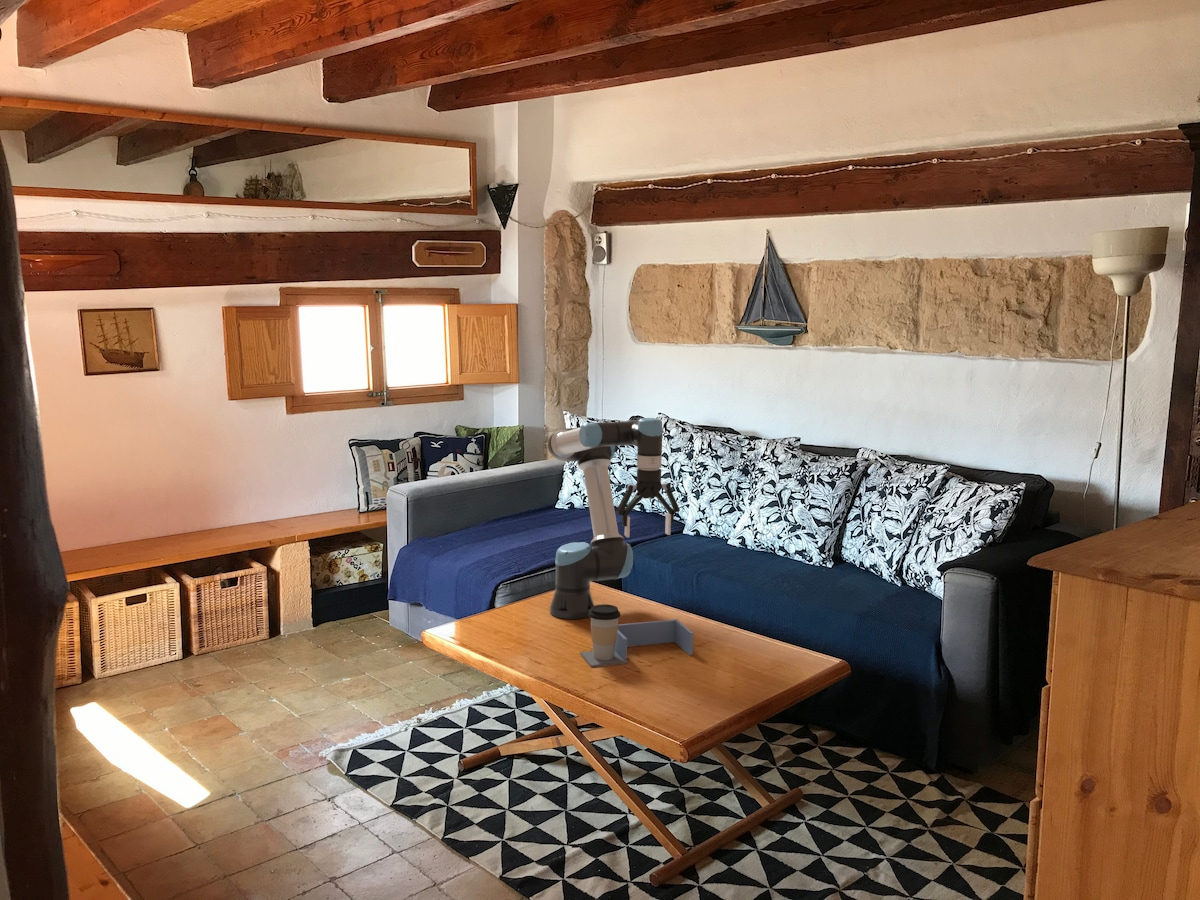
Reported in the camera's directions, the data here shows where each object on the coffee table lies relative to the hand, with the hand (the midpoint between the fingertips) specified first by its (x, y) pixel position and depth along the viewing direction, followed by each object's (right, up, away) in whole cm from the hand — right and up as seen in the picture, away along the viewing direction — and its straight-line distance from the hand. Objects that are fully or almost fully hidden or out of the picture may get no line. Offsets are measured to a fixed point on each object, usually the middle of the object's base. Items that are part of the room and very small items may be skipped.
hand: (647, 535), depth 310 cm
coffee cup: (-14, -35, -16) cm, 41 cm away
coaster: (-14, -35, -16) cm, 41 cm away
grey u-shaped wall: (+1, -35, -9) cm, 36 cm away
